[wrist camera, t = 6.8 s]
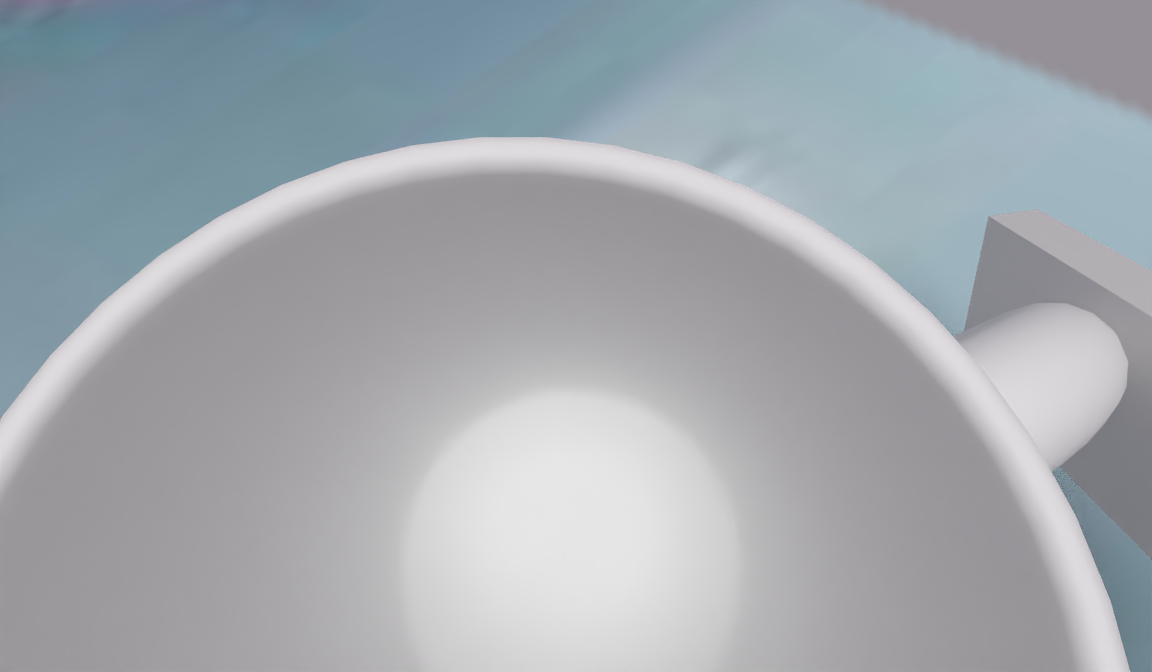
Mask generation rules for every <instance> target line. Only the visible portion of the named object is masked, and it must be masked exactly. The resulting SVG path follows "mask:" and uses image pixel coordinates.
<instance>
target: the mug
mask: <svg viewBox="0 0 1152 672" xmlns="http://www.w3.org/2000/svg"><path fill="white" fill-rule="evenodd" d="M1127 372H1128V360H1127V357H1126V355H1125V353H1124V350H1123V348H1122V346H1121V343H1120V341H1119V339H1118V336H1117V335H1116V333H1115V332H1114V330H1112V329H1111V328H1110V327H1109V326H1108V325H1107V324H1105V323H1104V322H1103V321H1102V320H1101V319H1100V318H1098V317H1097V316H1096V315H1095V314H1094V313H1091V312H1089V311H1086V310H1083V309H1081V308H1078V307H1075V306H1073V305H1070V304H1067V303H1035V304H1031V305H1028V306H1025V307H1021V308H1018V309H1015V310H1011V311H1008V312H1006V313H1004V314H1001V315H999V316H996V317H994V318H992V319H990V320H988V321H985V322H983V323H981V324H979V325H977V326H975V327H972V328H970V329H968V330H966V331H964V332H962V333H960V334H958V335H956V336H954V337H953V336H952V335H951V334H950V333H949V332H948V331H947V329H946V328H945V327H944V326H943V325H942V324H941V323H940V322H939V321H938V320H937V318H936V317H935V316H934V315H933V314H932V313H931V312H930V311H929V310H928V309H927V308H925V307H924V306H923V305H922V304H921V303H920V302H919V301H917V300H916V299H915V298H914V297H913V296H912V295H910V294H909V293H908V292H907V291H906V290H905V289H904V288H902V287H901V286H900V285H899V284H898V283H897V282H896V281H894V280H893V279H892V278H891V277H890V276H889V275H887V274H886V273H885V272H884V271H883V270H882V269H881V268H879V267H878V266H877V265H876V264H875V263H874V262H873V261H871V260H870V259H868V258H867V257H865V256H864V255H862V254H861V253H859V252H858V251H856V250H855V249H853V248H852V247H851V246H849V245H848V244H846V243H845V242H843V241H842V240H840V239H839V238H837V237H836V236H834V235H833V234H831V233H830V232H829V231H827V230H826V229H824V228H823V227H821V226H820V225H818V224H817V223H815V222H814V221H812V220H811V219H809V218H807V217H805V216H803V215H801V214H799V213H797V212H795V211H793V210H791V209H790V208H788V207H786V206H784V205H782V204H780V203H778V202H776V201H774V200H772V199H770V198H768V197H766V196H764V195H762V194H761V193H759V192H757V191H755V190H753V189H751V188H749V187H747V186H744V185H742V184H739V183H736V182H734V181H731V180H728V179H726V178H723V177H720V176H718V175H715V174H712V173H709V172H707V171H704V170H701V169H699V168H696V167H693V166H691V165H688V164H685V163H683V162H680V161H675V160H671V159H667V158H663V157H659V156H655V155H651V154H647V153H643V152H639V151H634V150H630V149H626V148H622V147H618V146H614V145H606V144H597V143H589V142H581V141H572V140H564V139H556V138H548V137H479V138H471V139H462V140H454V141H446V142H437V143H429V144H421V145H412V146H408V147H404V148H400V149H396V150H391V151H387V152H383V153H379V154H375V155H370V156H366V157H362V158H358V159H354V160H350V161H346V162H343V163H340V164H337V165H335V166H332V167H329V168H327V169H324V170H321V171H318V172H316V173H313V174H310V175H307V176H305V177H302V178H299V179H296V180H294V181H291V182H288V183H285V184H283V185H280V186H278V187H276V188H274V189H272V190H271V191H269V192H267V193H265V194H263V195H261V196H259V197H257V198H255V199H253V200H251V201H249V202H247V203H245V204H243V205H241V206H239V207H237V208H235V209H233V210H231V211H229V212H227V213H225V214H223V215H221V216H219V217H217V218H216V219H214V220H213V221H211V222H210V223H208V224H207V225H205V226H204V227H202V228H201V229H199V230H198V231H196V232H194V233H193V234H191V235H190V236H188V237H187V238H185V239H184V240H182V241H181V242H179V243H178V244H176V245H175V246H173V247H172V248H170V249H168V250H167V251H165V252H164V253H162V254H161V255H159V256H158V257H157V258H156V259H154V260H153V261H152V262H151V263H150V264H148V265H147V266H146V267H145V268H143V269H142V270H141V271H140V272H139V273H137V274H136V275H135V276H134V277H133V278H131V279H130V280H129V281H128V282H126V283H125V284H124V285H123V286H122V287H120V288H119V289H118V290H117V291H115V292H114V293H113V294H112V295H111V296H109V297H108V298H107V299H106V300H104V301H103V302H102V303H101V304H100V305H99V306H98V307H97V308H96V309H95V310H94V311H93V312H92V313H91V314H90V315H89V317H88V318H87V319H86V320H85V321H84V322H83V323H82V324H81V325H80V326H79V327H78V328H77V329H76V330H75V331H74V332H73V333H72V334H71V335H70V336H69V337H68V338H67V339H66V340H65V341H64V342H63V343H62V344H61V345H60V346H59V347H58V348H57V349H56V350H55V351H54V352H53V353H52V354H51V355H50V357H49V358H48V359H47V360H46V362H45V363H44V364H43V365H42V367H41V368H40V369H39V371H38V372H37V373H36V374H35V376H34V377H33V378H32V379H31V381H30V382H29V383H28V384H27V386H26V387H25V388H24V390H23V391H22V392H21V393H20V395H19V396H18V397H17V398H16V400H15V401H14V402H13V404H12V405H11V406H10V407H9V409H8V410H7V411H6V412H5V414H4V415H3V416H2V418H1V419H0V672H1130V669H1129V666H1128V662H1127V658H1126V655H1125V651H1124V648H1123V644H1122V640H1121V637H1120V633H1119V630H1118V626H1117V623H1116V619H1115V615H1114V612H1113V608H1112V605H1111V601H1110V598H1109V596H1108V594H1107V591H1106V589H1105V586H1104V584H1103V581H1102V579H1101V576H1100V574H1099V572H1098V569H1097V567H1096V564H1095V562H1094V559H1093V557H1092V554H1091V552H1090V549H1089V547H1088V545H1087V542H1086V540H1085V537H1084V535H1083V532H1082V530H1081V527H1080V525H1079V523H1078V520H1077V518H1076V515H1075V514H1074V512H1073V510H1072V508H1071V506H1070V505H1069V503H1068V501H1067V499H1066V497H1065V495H1064V494H1063V492H1062V490H1061V488H1060V486H1059V485H1058V483H1057V481H1056V479H1055V477H1054V475H1053V474H1052V471H1054V470H1055V469H1056V468H1058V467H1059V466H1061V465H1062V464H1063V463H1064V462H1065V461H1067V460H1068V459H1069V458H1070V457H1071V456H1073V455H1074V454H1075V453H1076V452H1077V451H1078V450H1080V449H1081V448H1082V447H1083V446H1084V445H1086V444H1087V443H1088V442H1089V441H1090V440H1091V438H1092V437H1093V436H1094V435H1095V434H1096V433H1097V432H1098V431H1099V429H1100V428H1101V427H1102V426H1103V425H1104V424H1105V422H1106V421H1107V419H1108V418H1109V417H1110V415H1111V414H1112V412H1113V411H1114V409H1115V408H1116V407H1117V405H1118V404H1119V402H1120V400H1121V398H1122V396H1123V394H1124V391H1125V389H1126V385H1127Z"/></svg>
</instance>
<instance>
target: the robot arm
mask: <svg viewBox="0 0 1152 672" xmlns="http://www.w3.org/2000/svg"><path fill="white" fill-rule="evenodd" d="M1035 303H1067V304H1070V305H1073V306H1075V307H1078V308H1081V309H1083V310H1086V311H1089V312H1091V313H1094V314H1095V315H1096V316H1097V317H1098V318H1100V319H1101V320H1102V321H1103V322H1104V323H1105V324H1107V325H1108V326H1109V327H1110V328H1111V329H1112V330H1114V332H1115V333H1116V335H1117V336H1118V339H1119V341H1120V343H1121V346H1122V348H1123V350H1124V353H1125V355H1126V357H1127V360H1128V372H1127V385H1126V389H1125V391H1124V394H1123V396H1122V398H1121V400H1120V402H1119V404H1118V405H1117V407H1116V408H1115V409H1114V411H1113V412H1112V414H1111V415H1110V417H1109V418H1108V419H1107V421H1106V422H1105V424H1104V425H1103V426H1102V427H1101V428H1100V429H1099V431H1098V432H1097V433H1096V434H1095V435H1094V436H1093V437H1092V438H1091V440H1090V441H1089V442H1088V443H1087V444H1086V445H1084V446H1083V447H1082V448H1081V449H1080V450H1078V451H1077V452H1076V453H1075V454H1074V455H1073V456H1071V457H1070V458H1069V459H1068V460H1067V461H1065V462H1064V463H1063V464H1062V465H1061V466H1060V467H1061V468H1062V469H1063V470H1064V471H1065V472H1066V473H1067V474H1068V475H1069V476H1070V477H1071V478H1072V479H1073V480H1074V481H1075V482H1076V483H1077V484H1078V485H1079V486H1080V487H1081V488H1082V489H1083V490H1084V491H1085V492H1086V493H1087V495H1088V496H1089V497H1090V498H1091V499H1092V500H1093V501H1094V502H1095V503H1096V504H1097V505H1098V506H1099V507H1100V508H1101V509H1102V510H1103V511H1104V512H1105V513H1106V514H1107V515H1108V516H1109V517H1110V518H1111V519H1112V520H1113V521H1114V522H1115V523H1116V524H1117V525H1118V526H1119V527H1120V528H1121V529H1122V530H1123V531H1124V532H1125V533H1126V534H1127V535H1128V536H1129V537H1130V538H1131V539H1132V540H1133V541H1134V542H1135V543H1136V544H1137V545H1138V546H1139V547H1140V548H1141V549H1142V550H1143V551H1144V552H1145V553H1146V554H1147V555H1148V556H1149V557H1150V558H1151V559H1152V271H1150V270H1149V269H1147V268H1145V267H1143V266H1141V265H1139V264H1138V263H1136V262H1134V261H1132V260H1130V259H1128V258H1127V257H1125V256H1123V255H1121V254H1119V253H1117V252H1115V251H1114V250H1112V249H1110V248H1108V247H1106V246H1104V245H1103V244H1101V243H1099V242H1097V241H1095V240H1093V239H1092V238H1090V237H1088V236H1086V235H1084V234H1082V233H1080V232H1079V231H1077V230H1075V229H1073V228H1071V227H1069V226H1068V225H1066V224H1064V223H1062V222H1060V221H1058V220H1057V219H1055V218H1053V217H1051V216H1049V215H1047V214H1045V213H1044V212H1042V211H1040V210H1031V211H1024V212H1016V213H1009V214H1001V215H994V216H989V217H988V222H987V226H986V231H985V235H984V240H983V245H982V249H981V254H980V259H979V263H978V268H977V272H976V277H975V282H974V286H973V291H972V296H971V300H970V305H969V310H968V314H967V319H966V323H965V328H964V331H966V330H968V329H970V328H972V327H975V326H977V325H979V324H981V323H983V322H985V321H988V320H990V319H992V318H994V317H996V316H999V315H1001V314H1004V313H1006V312H1008V311H1011V310H1015V309H1018V308H1021V307H1025V306H1028V305H1031V304H1035Z"/></svg>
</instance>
